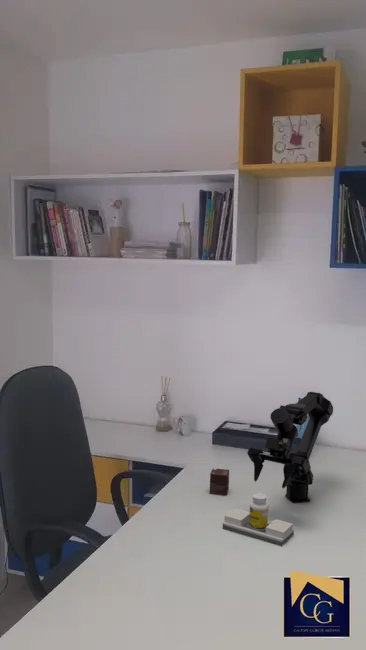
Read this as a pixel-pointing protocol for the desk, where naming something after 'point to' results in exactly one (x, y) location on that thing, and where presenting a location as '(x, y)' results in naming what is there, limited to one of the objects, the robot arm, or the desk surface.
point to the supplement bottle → (258, 513)
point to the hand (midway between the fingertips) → (268, 484)
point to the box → (219, 481)
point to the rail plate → (273, 534)
